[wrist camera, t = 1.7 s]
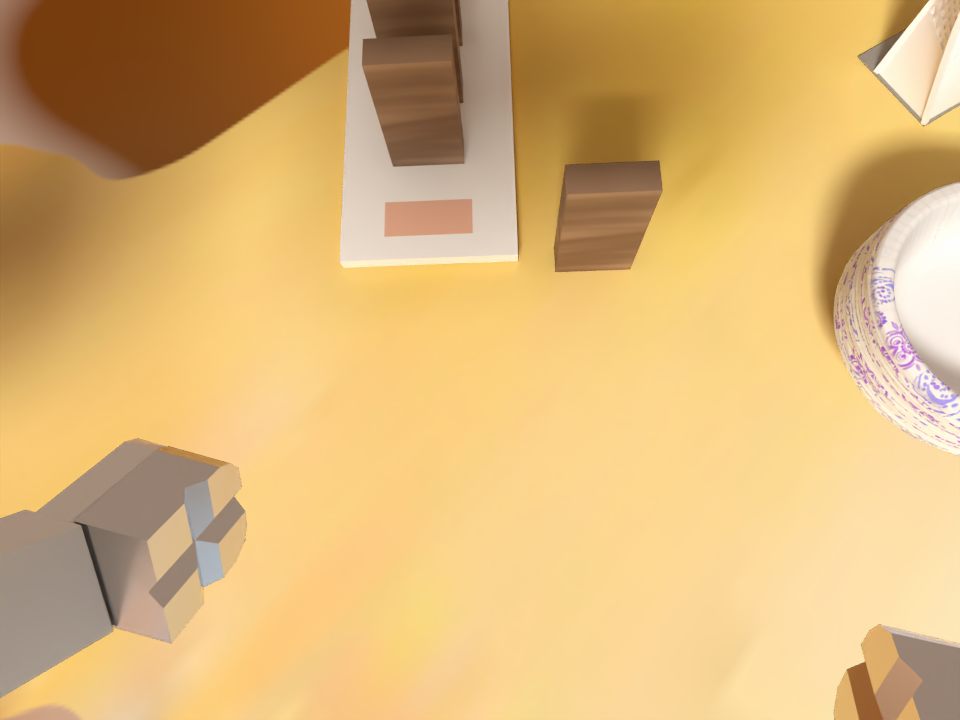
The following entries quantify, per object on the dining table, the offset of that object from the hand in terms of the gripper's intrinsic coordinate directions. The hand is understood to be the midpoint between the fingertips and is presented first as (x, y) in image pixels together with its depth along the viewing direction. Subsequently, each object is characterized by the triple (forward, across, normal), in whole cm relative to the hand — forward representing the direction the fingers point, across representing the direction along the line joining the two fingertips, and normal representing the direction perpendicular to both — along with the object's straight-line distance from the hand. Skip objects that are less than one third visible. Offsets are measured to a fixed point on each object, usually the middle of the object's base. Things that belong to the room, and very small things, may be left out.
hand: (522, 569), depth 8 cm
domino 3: (+37, -2, -9) cm, 38 cm away
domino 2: (+39, -14, -4) cm, 42 cm away
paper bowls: (+37, +20, -12) cm, 44 cm away
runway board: (+43, -16, -2) cm, 46 cm away
